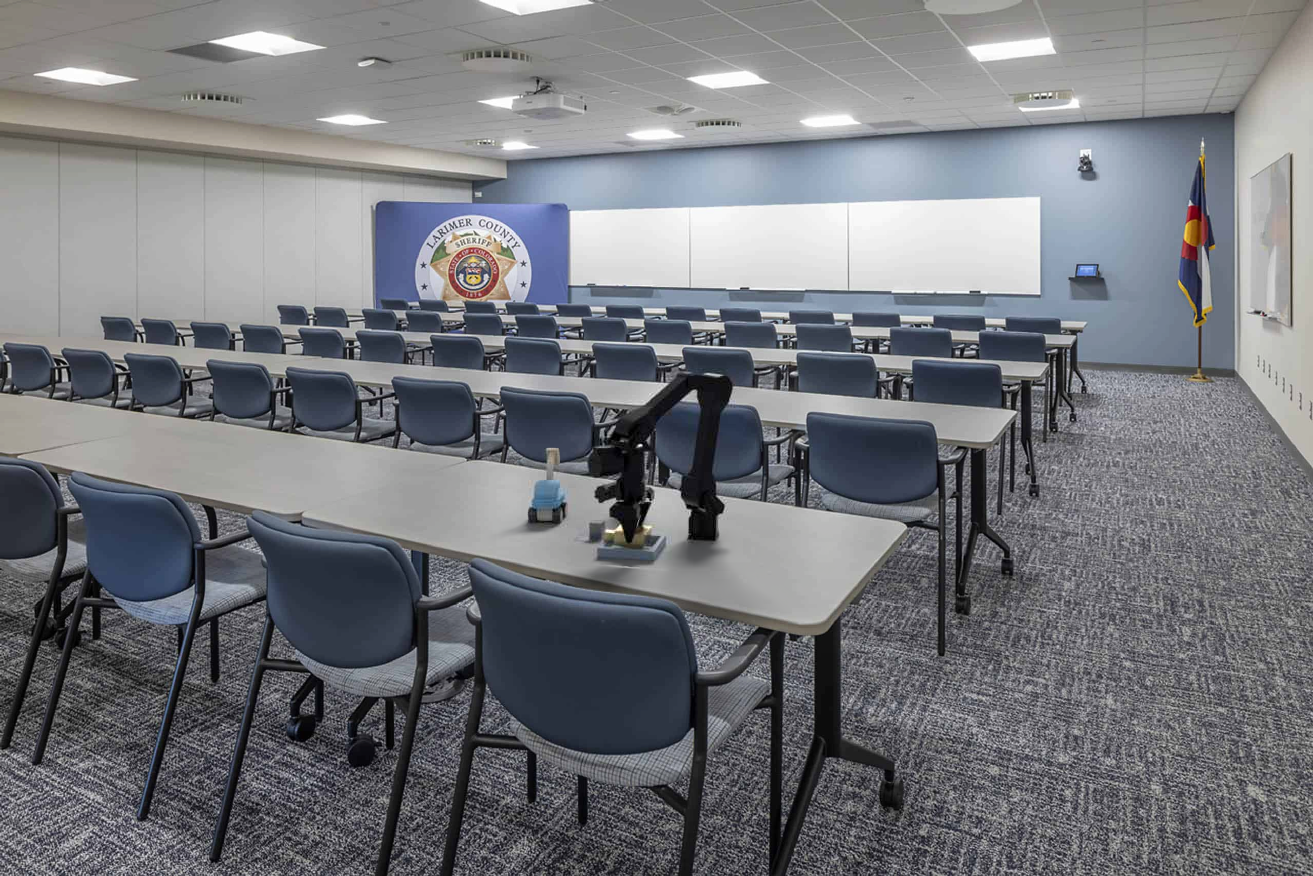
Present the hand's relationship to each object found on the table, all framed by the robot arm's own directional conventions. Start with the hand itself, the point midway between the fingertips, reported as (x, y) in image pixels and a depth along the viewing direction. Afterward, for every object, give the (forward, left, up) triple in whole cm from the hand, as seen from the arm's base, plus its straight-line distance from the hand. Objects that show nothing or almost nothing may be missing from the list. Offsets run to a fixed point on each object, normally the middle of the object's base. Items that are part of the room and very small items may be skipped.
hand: (632, 538), depth 213 cm
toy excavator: (+28, -24, -4) cm, 37 cm away
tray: (0, 0, -3) cm, 3 cm away
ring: (+2, 0, -1) cm, 2 cm away
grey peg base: (+11, -9, -3) cm, 15 cm away
